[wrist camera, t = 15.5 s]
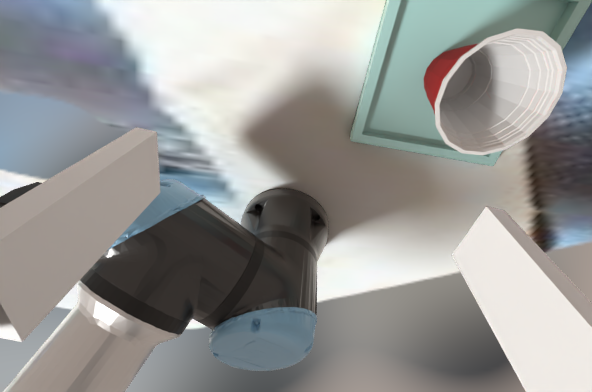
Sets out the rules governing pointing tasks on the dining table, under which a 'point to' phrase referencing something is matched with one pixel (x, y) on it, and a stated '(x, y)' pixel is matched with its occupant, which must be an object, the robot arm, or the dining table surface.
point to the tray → (427, 46)
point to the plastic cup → (495, 90)
